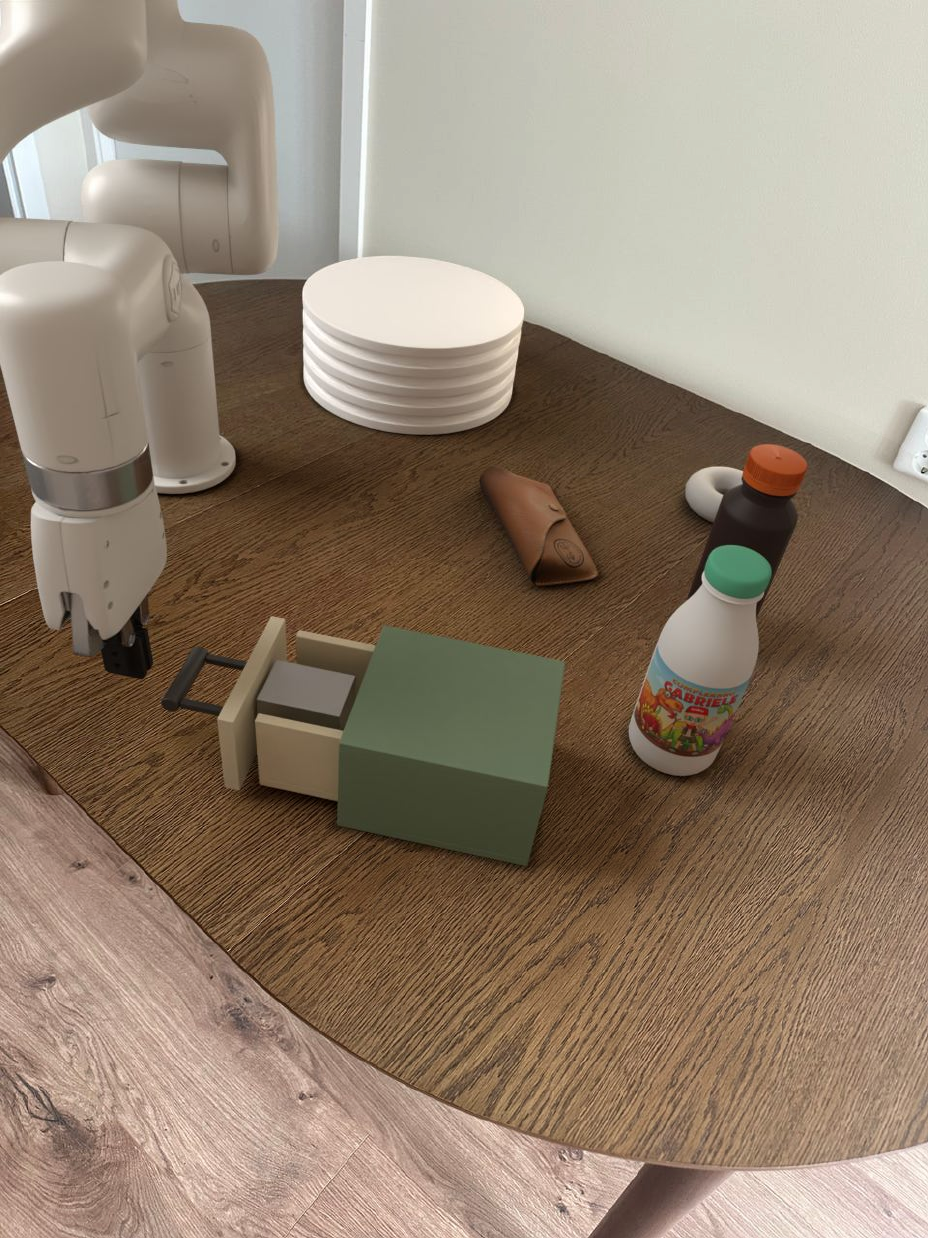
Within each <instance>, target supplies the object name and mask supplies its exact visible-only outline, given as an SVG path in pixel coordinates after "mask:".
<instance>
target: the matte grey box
mask: <svg viewBox="0 0 928 1238" xmlns="http://www.w3.org/2000/svg"><path fill="white" fill-rule="evenodd" d="M355 680H356V676H354V675H349V674H344V673H339V672H334V671H329V670H324V669H319V668H315V667H310V666H305V665H300V664H297V663H295V662H290V661H287V662H285V661H280V660H276V661H275V663H274V665H273V667H272V669H271V671H270V673H269V675H268V677H267V679H266V681H265V683H264V685H263V687H262V689H261V691H260V693H259V695H258V697H257V711H258V714H259V713H260V714H265V715H270V716H275V717H279V718H284V719H289V720H294V721H299V722H303V723H308V724H313V725H318V726H323V727H327V728H332V729H337V730H342V731H344V728H345V726H346V723H347V720H348V718H349V715H350V713H351V710H352V707H353V705H354V702H355Z"/></svg>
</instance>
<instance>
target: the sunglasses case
mask: <svg viewBox="0 0 928 1238" xmlns="http://www.w3.org/2000/svg"><path fill="white" fill-rule="evenodd" d="M478 482H479V486H480V489H481V491H482V492H483V494H484V496H485V498H486V499H487V501H488V503H489V504H490V506H491V508H492V510H493V512H494V513H495V514H496V516H497V519H498V521H499V522H500V525H501V527H502V529H503V530H504V532H505V534H506V536H507V538H508V540H509V542H510V544H511V546H512V548H513V550H514V552H515V554H516V555H517V558H518V560H519V562H520V565H521V566H522V568H523V570H524V572H525V574H526V576H527V577H528V578H529V580H530V581H531V582H532V583H533V584H534V586H535V587H553V586H564V585H571V584H577V583H581V582H582V583H583V582H588V581H593V580H595V579H597V578H598V577H599V572H598V568H597V567H596V564H595V562H594V560H593V558H592V557H591V555H590V553H589V552H588V549H587V548H586V546H585V545H584V543H583V540H582V539H581V538H580V536H579V534H578V533H577V531H576V529H575V528H574V526H573V524H572V523H571V521H570V520H569V518H568V516H567V513H566V511H565V509H564V508H563V506H562V505H561V504H560V502H559V501H558V499H557V497H556V495H555V492H553V490H552V488H551V486H550V485H549V484H548V483H546V482H541V481H537V480H534V479H531V478H529V477H526V476H522V475H519V474H516V473H513V472H512V471H510V470H507V469H506V468H503V467H502V466H499V465H497V464H495V465H490V466H488V467H486V468H485V469H484V470H483V471H482V473H481V474H480V476H479V479H478Z"/></svg>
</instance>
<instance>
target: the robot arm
mask: <svg viewBox="0 0 928 1238" xmlns="http://www.w3.org/2000/svg"><path fill="white" fill-rule="evenodd" d="M274 99H275V98H274V87H273V78H272V73H271V68H270V63H269V61H268V57H267V54H266V51H265V49H264V48H263V45H262V44H261V42H260V41H259V40H258V39H257V38H256V37H255V36H254V35H253V34H251V33H250V32H248V31H246V30H244V29H242V28H238V27H234V26H230V25H223V24H216V23H215V24H212V23H202V22H192V21H191V22H190V21H185V20H184V19H183V17H182V16H181V14H180V9H179V3H178V0H0V166H1V165H2V164H3V162H4V161H5V159H6V158H7V156H8V155H9V154H10V153H11V151H13V149H14V148H16V146H17V145H19V143H20V142H22V141H23V140H25V138H27V137H28V136H30V135H31V134H33V133H34V132H36V131H38V130H39V129H41V128H43V127H45V126H47V125H49V124H51V123H53V122H55V121H57V120H59V119H61V118H63V117H66V116H68V115H70V114H73V113H75V112H77V111H79V110H82V109H84V108H86V111H87V113H88V116H89V119H90V121H91V123H92V124H93V127H94V128H96V130H98V132H99V133H100V134H101V135H102V136H105V137H106V138H108V139H111V140H114V141H116V142H121V143H125V144H126V143H127V144H132V145H140V146H151V147H161V148H163V147H165V148H177V149H193V150H205V151H214V152H216V153H218V154H219V155H220V156H222V158H223V159H224V161H225V162H226V164H216V163H198V162H197V163H196V162H183V161H180V160H165V159H164V160H163V159H151V158H150V159H147V158H118V159H111V160H105V161H104V162H101V163H99V164H97V165H95V166H93V168H91V169H90V170H89V171H88V172H87V174H86V175H85V177H84V179H83V181H82V185H81V188H80V206H81V213H82V218H83V221H73V220H61V219H44V218H43V219H42V218H27V217H9V216H8V217H7V216H5V217H4V216H0V370H1V373H2V378H3V381H4V385H5V389H6V393H7V398H8V401H9V406H10V410H11V414H12V418H13V421H14V425H15V430H16V435H17V438H18V442H19V446H20V451H21V454H22V458H23V462H24V466H25V470H26V471H25V472H26V475H27V478H28V482H29V486H30V490H31V494H32V497H33V499H34V501H35V502H34V504H33V505H32V507H31V509H30V539H31V542H30V543H31V550H32V551H31V553H32V559H33V566H34V573H35V578H36V579H35V580H36V586H37V590H38V595H39V600H40V603H41V604H40V605H41V609H42V613H43V618H44V620H45V623H46V625H47V627H48V628H49V629H50V630H52V631H53V630H54V631H58V632H60V631H61V630H62V628H63V627H64V626H65V625H66V624H67V622H68V621H69V620H70V627H71V641H72V653H73V655H75V656H81V657H85V658H90V659H93V658H94V657H95V656H96V655H97V654H99V653H101V658H102V663H103V667H104V670H105V672H107V673H109V674H114V675H118V676H123V677H128V678H132V679H137V680H144V679H145V678H146V676H147V675H148V671H149V670H151V668H152V667H153V666H154V659H153V652H152V647H151V642H150V634H149V630H148V628H146V626H147V625H148V623H149V620H150V607H149V593H150V590H152V588H153V586H154V585H155V583H156V582H157V580H159V578H160V576H161V574H162V573H163V571H164V569H165V567H166V564H167V560H168V549H167V548H168V547H167V539H166V531H165V524H164V519H163V514H162V513H163V512H162V509H161V504H160V499H159V495H158V494H164V495H165V494H167V495H182V494H192V493H197V492H200V491H205V490H207V489H210V488H213V487H214V486H216V485H218V484H221V483H222V482H223V481H225V480H226V479H227V478H229V476H230V475H231V474H232V473H233V471H234V470H235V467H236V462H237V461H236V460H237V458H236V450H235V448H234V446H233V444H231V442H230V441H229V440H228V439H227V438H225V437H224V436H222V435H220V434H221V433H220V423H219V412H218V399H217V387H216V376H215V375H216V374H215V365H214V363H215V362H214V353H213V352H214V351H213V341H212V328H211V320H210V314H209V311H208V308H207V305H206V303H205V301H204V299H203V298H202V296H201V294H200V293H199V291H198V290H197V288H196V287H195V286H194V285H193V283H192V282H191V281H190V280H189V278H188V277H187V276H186V275H187V274H205V275H228V276H255V275H261V274H264V273H266V272H267V271H268V270H270V269H271V268H272V267H273V265H274V264H275V261H276V260H277V259H276V258H277V256H278V249H279V241H280V240H279V239H280V238H279V237H280V224H279V223H280V219H279V218H280V216H279V195H278V191H279V189H278V167H277V166H278V165H277V145H276V144H277V142H276V141H277V140H276V139H277V138H276V114H275V111H276V110H275V100H274ZM185 274H186V275H185Z"/></svg>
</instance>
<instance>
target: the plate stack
mask: <svg viewBox="0 0 928 1238" xmlns="http://www.w3.org/2000/svg"><path fill="white" fill-rule="evenodd" d="M302 308H303V309H302V325H303V327H302V343H303V347H302V348H303V349H302V359H303V369H302V370H303V372H302V373H303V383H304V386H305V388H306V391H307V392H308V394H309V395H310V396H311V398H312V399H313V400H314V401H315V402H316V403H317V404H319V406H321V407H322V408H324V409H325V410H327V411H328V412H330V413H331V414H333V415H335V416H337V417H339V418H341V419H343V420H345V421H347V422H350V423H352V424H355V425H359V426H361V427H365V428H368V429H373V430H378V431H381V432H387V433H394V434H401V435H415V436H417V435H419V436H428V435H430V436H432V435H445V434H452V433H458V432H463V431H467V430H471V429H475V428H477V427H480V426H482V425H485V424H487V423H489V422H491V421H492V420H494V419H496V418H497V417H498V416H500V415H501V414H502V413H503V412H504V411H505V410H506V409H507V407H508V406H509V404H510V402H511V399H512V396H513V395H512V394H513V388H514V382H515V376H516V368H517V367H516V366H517V361H518V357H519V346H520V343H521V337H522V328H523V323H524V317H525V308H524V304H523V302H522V300H521V298H520V296H518V294H517V293H515V291H514V290H512V289H511V288H510V287H509V286H508V285H507V284H505V283H503V282H502V281H501V280H499V279H497V278H495V277H493V276H491V275H488V274H486V273H484V272H482V271H479V270H477V269H474V268H471V267H468V266H465V265H462V264H457V263H454V262H449V261H446V260H445V261H444V260H441V259H435V258H427V257H418V256H407V255H376V256H374V255H373V256H365V257H364V256H363V257H357V258H356V257H355V258H350V259H346V260H342V261H339V262H338V261H337V262H334V263H332V264H329V265H326V266H325V267H321V269H319V270H317V271H315V272H313V274H312V275H310V277H309V278H308V279H307V280H306V281H305V283H304V285H303V287H302Z"/></svg>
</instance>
